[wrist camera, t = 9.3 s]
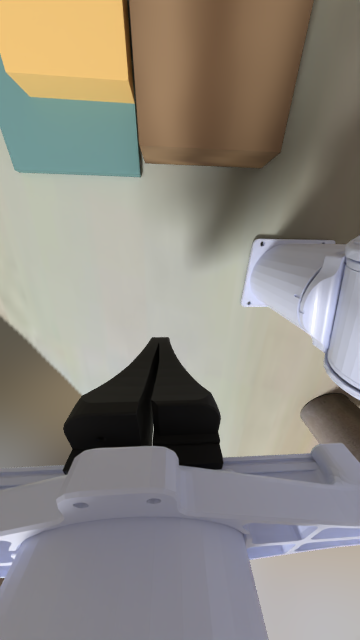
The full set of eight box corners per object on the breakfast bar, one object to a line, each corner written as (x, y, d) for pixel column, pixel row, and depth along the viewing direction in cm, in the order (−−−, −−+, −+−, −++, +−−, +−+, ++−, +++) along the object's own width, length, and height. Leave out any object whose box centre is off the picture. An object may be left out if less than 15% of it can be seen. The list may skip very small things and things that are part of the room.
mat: (117, -149, 9) (114, -170, 8) (140, 177, 15) (139, 174, 15) (-97, -179, 8) (-112, -203, 8) (19, 172, 14) (14, 170, 14)
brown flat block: (308, -88, 10) (360, -212, 7) (261, 168, 15) (280, 152, 12) (128, -111, 9) (111, -253, 7) (145, 163, 15) (139, 145, 12)
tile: (125, -25, 10) (115, -82, 8) (134, 103, 13) (128, 80, 11) (-6, -39, 10) (-46, -101, 8) (29, 96, 12) (5, 72, 10)
